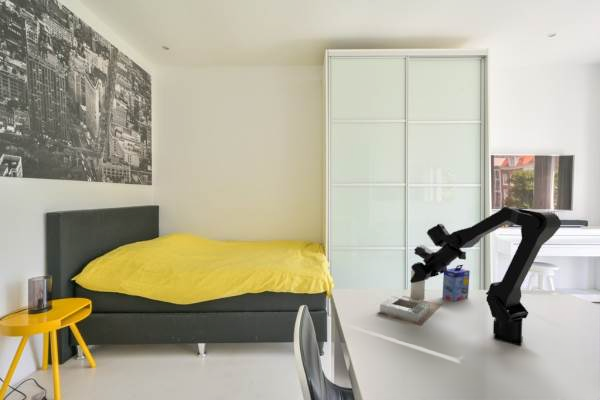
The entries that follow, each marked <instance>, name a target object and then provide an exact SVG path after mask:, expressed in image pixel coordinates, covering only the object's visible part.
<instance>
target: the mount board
mask: <svg viewBox="0 0 600 400" xmlns="http://www.w3.org/2000/svg"><path fill="white" fill-rule="evenodd" d="M401 297H406V298H410V299H412V298H411V296H406V295H401ZM414 300H415V299H414ZM419 301H423V302H428V303H430V312H429V313H428V314H427V315H426V316H425V317H424V318H423V319H422V320H421V321H420V322H419V323H416V322H412V321H409V320H405V319H401V318H397V317H394V316H390V315H386V314H383V313H380V311H379V312H377V313H376V314H377V315H380V316H383V317H388V318H391V319H395V320H398V321H401V322H405V323H409V324H413V325H416V326H419V327H420V326H421V327H422V326H423V325H424V324H425V323H426V322H427V321H428V320H429V319H430V318H432V316H433V315H434V313H435V314H436V312H437V311H438V310H439V309H440V308H441V307H442V306H443V304H442V303H439V302H432V301H429V300H428V301H427V300H425V299H424V300H419Z"/></svg>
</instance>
